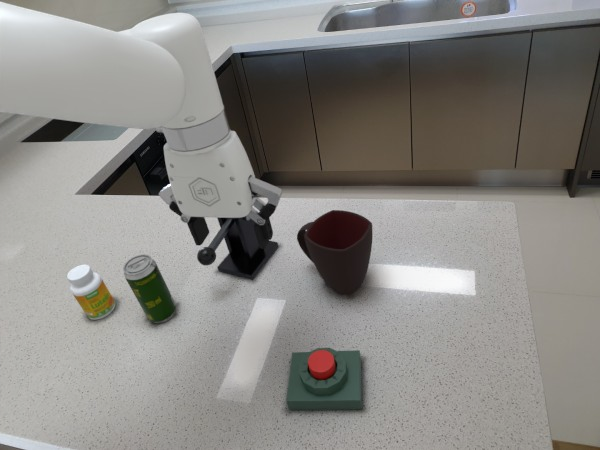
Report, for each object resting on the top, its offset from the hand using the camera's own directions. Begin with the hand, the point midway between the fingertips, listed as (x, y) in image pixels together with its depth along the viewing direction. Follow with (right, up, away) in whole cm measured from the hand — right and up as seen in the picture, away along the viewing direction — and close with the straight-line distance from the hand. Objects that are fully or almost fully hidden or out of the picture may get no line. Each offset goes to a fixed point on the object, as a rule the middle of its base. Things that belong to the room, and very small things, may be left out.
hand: (233, 240), depth 64 cm
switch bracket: (-1, -5, +27) cm, 27 cm away
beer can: (-15, -14, +19) cm, 28 cm away
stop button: (+12, -18, -1) cm, 22 cm away
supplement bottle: (-28, -14, +22) cm, 38 cm away
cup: (+16, -8, +18) cm, 25 cm away
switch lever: (-4, -1, +18) cm, 19 cm away
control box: (+13, -21, +1) cm, 24 cm away
